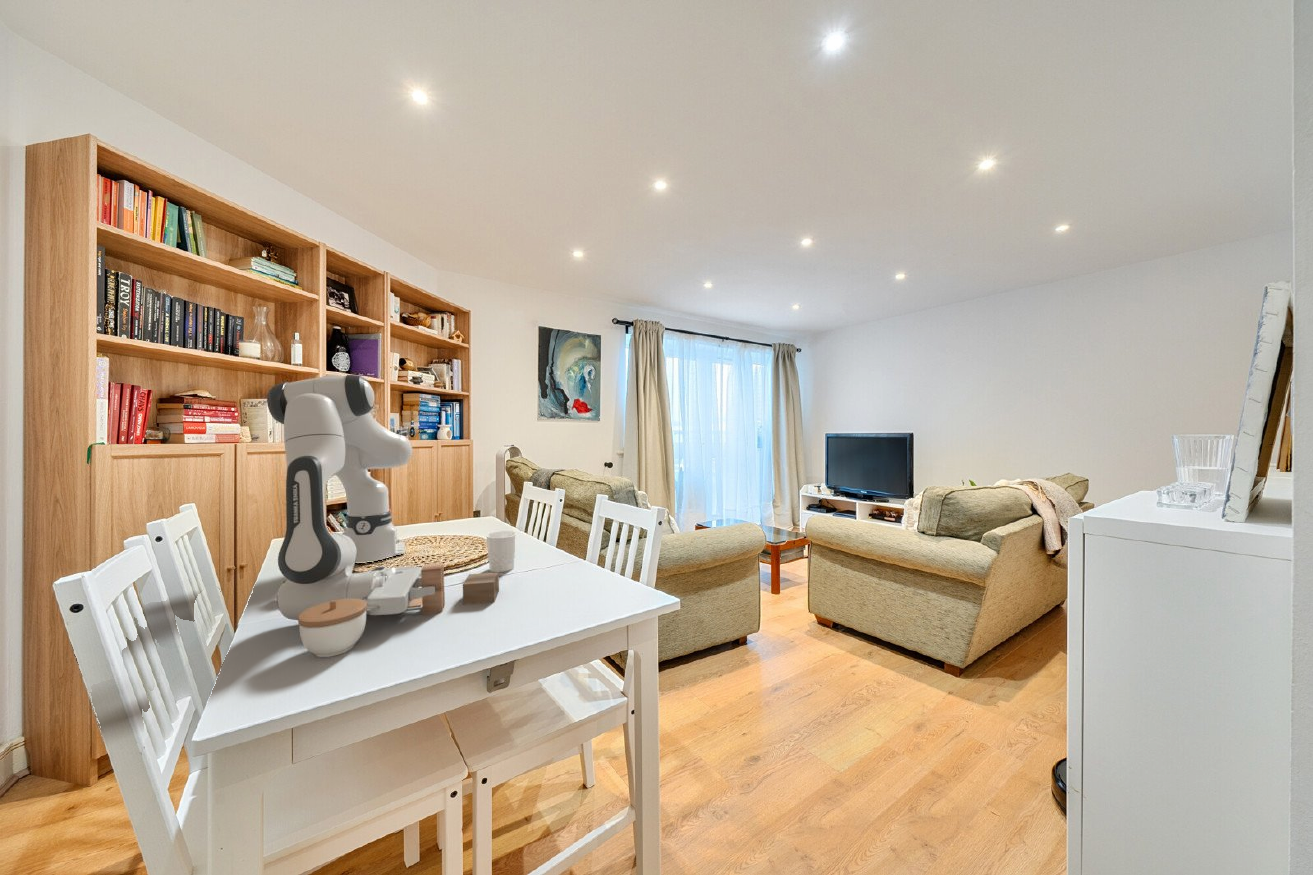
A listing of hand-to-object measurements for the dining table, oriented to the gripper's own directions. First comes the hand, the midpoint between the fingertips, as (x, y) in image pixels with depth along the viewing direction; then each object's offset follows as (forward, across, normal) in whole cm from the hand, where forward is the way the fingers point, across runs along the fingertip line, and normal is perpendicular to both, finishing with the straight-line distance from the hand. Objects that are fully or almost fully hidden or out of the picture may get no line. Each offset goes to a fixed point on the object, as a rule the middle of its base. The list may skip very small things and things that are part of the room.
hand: (437, 585), depth 106 cm
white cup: (+13, +25, +6) cm, 29 cm away
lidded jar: (-16, -14, +6) cm, 22 cm away
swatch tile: (-8, +6, +6) cm, 11 cm away
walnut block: (+9, +4, +6) cm, 12 cm away
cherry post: (-1, 0, +6) cm, 6 cm away
